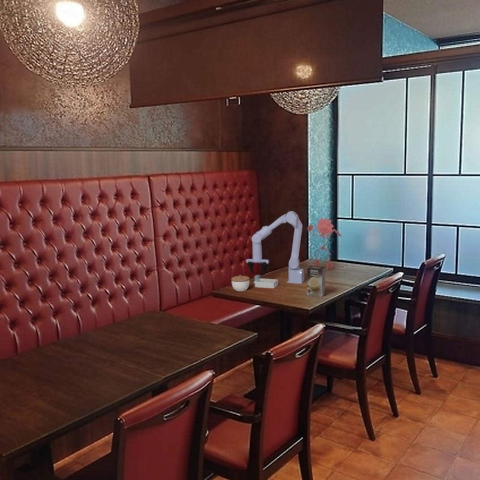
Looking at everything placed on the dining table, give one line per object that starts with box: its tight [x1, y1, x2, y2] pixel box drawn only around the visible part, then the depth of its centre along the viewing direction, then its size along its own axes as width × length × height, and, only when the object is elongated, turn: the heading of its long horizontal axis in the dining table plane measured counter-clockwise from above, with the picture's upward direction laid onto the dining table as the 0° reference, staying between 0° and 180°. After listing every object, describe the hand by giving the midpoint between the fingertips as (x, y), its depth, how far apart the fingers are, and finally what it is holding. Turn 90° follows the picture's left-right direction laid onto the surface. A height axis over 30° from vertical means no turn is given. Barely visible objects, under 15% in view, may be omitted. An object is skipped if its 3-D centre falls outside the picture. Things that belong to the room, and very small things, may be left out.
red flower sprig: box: [307, 217, 342, 271], centre depth 361 cm, size 15×26×35 cm, turn 54°
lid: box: [252, 274, 261, 284], centre depth 329 cm, size 13×9×4 cm
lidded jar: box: [230, 274, 250, 292], centre depth 312 cm, size 11×11×9 cm
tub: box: [254, 277, 279, 289], centre depth 319 cm, size 12×8×4 cm, turn 67°
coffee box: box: [306, 265, 326, 298], centre depth 297 cm, size 9×6×16 cm
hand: (258, 274), depth 330 cm, fingers open, 7 cm apart
